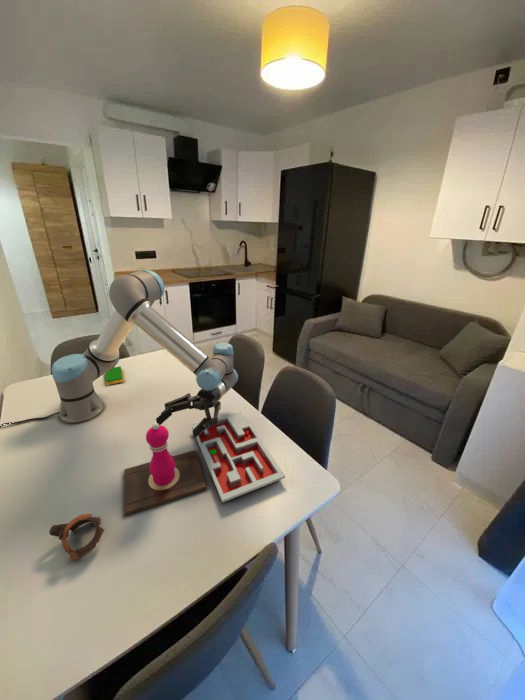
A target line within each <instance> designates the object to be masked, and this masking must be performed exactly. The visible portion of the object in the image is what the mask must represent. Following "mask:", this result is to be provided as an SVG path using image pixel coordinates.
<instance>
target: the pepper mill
mask: <svg viewBox="0 0 525 700" xmlns="http://www.w3.org/2000/svg"><path fill="white" fill-rule="evenodd" d="M169 435H170V433H169V430H168V428H167V427H165V426H164V425H162V424H161V425H159V424H158V423H157V422H154V423H153V424H152V426H151V427H150V428H149V429H148V430H147V432H146V434H145V440H146V443H147V444H148V446H149V450H150V451H151V452H152V457H151V459H150V467H149V468H150V473H151V475H152V476H153V481H154V483H155V484H157V485H160V486H162V485H166V484H169V483H170V482H171V481H172V480H173V479H174V477H175V471H174V469H175V461H174V459H173V457H172V456H173V455H172V454H171V453H170V452H169V450H168V447H169V437H170V436H169Z"/></svg>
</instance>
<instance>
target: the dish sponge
mask: <svg viewBox="0 0 525 700" xmlns="http://www.w3.org/2000/svg"><path fill="white" fill-rule="evenodd" d="M120 383H124V376H123V371H122V366H121V365H119V366H115V367H114V368H113V369H111V370H109V371H107V372H106V373H105V384H106V385H107V386H111V385H115V384H120Z"/></svg>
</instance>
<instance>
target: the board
mask: <svg viewBox="0 0 525 700" xmlns="http://www.w3.org/2000/svg"><path fill="white" fill-rule="evenodd" d="M171 456H172V457H173V459H174V461H175V469H174V471H175V477H174V479H173V480H172V481H171V482H170V483H169V484H166V485H162V486H160V485H157V484H155V483H154V481H153V476H152V475H151V473H150V468H149V467H150V462H151V461H150V462H149V461H148V462H146V463H141V464H139V465H134V466H132V467H127V468H124V494H123V495H124V496H123V497H124V498H123V499H124V500H123V504H124V505H123V507H124V508H123V512H124V516H125V517H126V516H129V515H132V514H135V513H138V512H142V511H144V510H147V509H150V508H153V507H156V506H160V505H164V504H166V503H169V502H172V501H175V500H178V499H182V498H184V497H187V496H190V495H194V494H196V493H200V492H203V491H206V490H207V484H206V481H205V477H204V474H203V470H202V467H201V463H200V460H199V456H198V454H197V451H196V449H194V450H189V451H187V452H183V453H178V454H176V455H171Z"/></svg>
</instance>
